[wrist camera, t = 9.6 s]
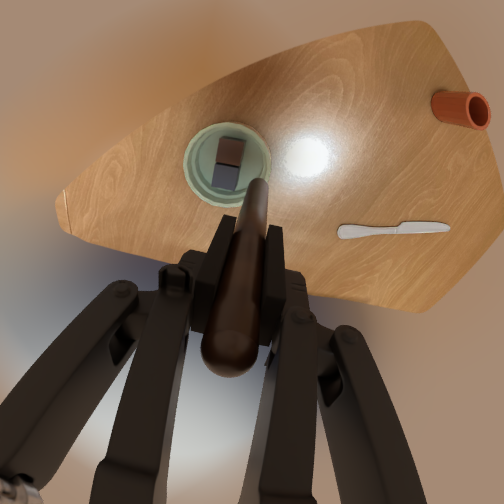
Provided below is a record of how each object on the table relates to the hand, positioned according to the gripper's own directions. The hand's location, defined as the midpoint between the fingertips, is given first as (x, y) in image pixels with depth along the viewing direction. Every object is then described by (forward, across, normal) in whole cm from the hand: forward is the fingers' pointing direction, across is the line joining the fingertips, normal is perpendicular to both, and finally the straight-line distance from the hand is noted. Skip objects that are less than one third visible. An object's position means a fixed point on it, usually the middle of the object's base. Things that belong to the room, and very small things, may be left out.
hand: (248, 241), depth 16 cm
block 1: (+27, -5, +1) cm, 27 cm away
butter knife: (+27, +26, -5) cm, 38 cm away
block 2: (+27, -5, -3) cm, 27 cm away
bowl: (+27, -5, -1) cm, 28 cm away
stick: (+13, 0, 0) cm, 13 cm away
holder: (+27, +27, +19) cm, 43 cm away
